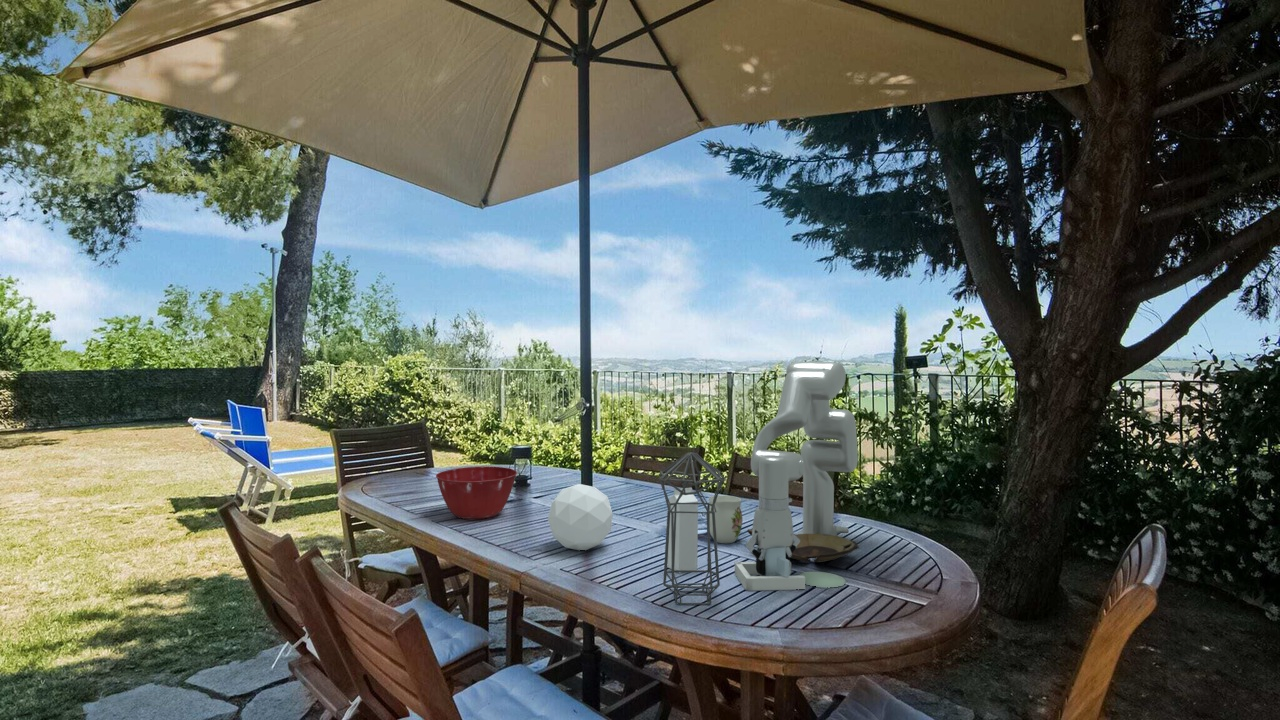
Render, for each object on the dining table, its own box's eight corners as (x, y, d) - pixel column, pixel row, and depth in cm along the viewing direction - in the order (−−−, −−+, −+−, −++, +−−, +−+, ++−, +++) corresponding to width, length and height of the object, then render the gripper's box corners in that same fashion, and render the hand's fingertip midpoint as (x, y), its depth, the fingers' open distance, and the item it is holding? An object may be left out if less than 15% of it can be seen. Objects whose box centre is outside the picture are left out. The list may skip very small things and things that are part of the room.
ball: (586, 565, 203) (614, 507, 212) (601, 559, 185) (631, 497, 194) (532, 535, 202) (562, 478, 211) (542, 527, 184) (575, 466, 193)
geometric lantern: (659, 609, 150) (658, 456, 151) (660, 587, 166) (659, 448, 166) (728, 610, 149) (727, 456, 150) (722, 588, 165) (721, 448, 166)
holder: (789, 572, 177) (789, 561, 177) (805, 589, 164) (805, 577, 164) (734, 573, 176) (734, 562, 176) (746, 590, 163) (746, 578, 163)
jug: (755, 577, 172) (756, 543, 172) (776, 574, 174) (777, 541, 174) (775, 590, 163) (776, 554, 163) (797, 587, 165) (798, 551, 165)
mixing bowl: (474, 529, 217) (474, 483, 217) (418, 517, 233) (418, 474, 233) (532, 513, 241) (533, 471, 241) (478, 503, 257) (478, 463, 256)
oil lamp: (848, 577, 174) (848, 548, 174) (741, 559, 189) (741, 532, 189) (864, 555, 193) (865, 529, 193) (766, 540, 208) (766, 516, 208)
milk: (697, 570, 178) (699, 489, 178) (678, 573, 175) (680, 491, 175) (685, 564, 183) (686, 485, 183) (666, 567, 180) (668, 487, 180)
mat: (835, 572, 177) (835, 571, 177) (852, 588, 165) (852, 586, 165) (791, 573, 177) (791, 572, 177) (806, 588, 165) (806, 587, 165)
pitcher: (752, 535, 213) (753, 493, 213) (730, 549, 198) (730, 503, 198) (721, 530, 219) (722, 489, 219) (697, 543, 204) (698, 499, 204)
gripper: (793, 498, 177) (793, 564, 177) (736, 502, 171) (736, 571, 171) (810, 504, 169) (809, 573, 170) (751, 509, 164) (750, 581, 164)
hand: (772, 571), depth 170 cm, fingers closed on jug, 6 cm apart
